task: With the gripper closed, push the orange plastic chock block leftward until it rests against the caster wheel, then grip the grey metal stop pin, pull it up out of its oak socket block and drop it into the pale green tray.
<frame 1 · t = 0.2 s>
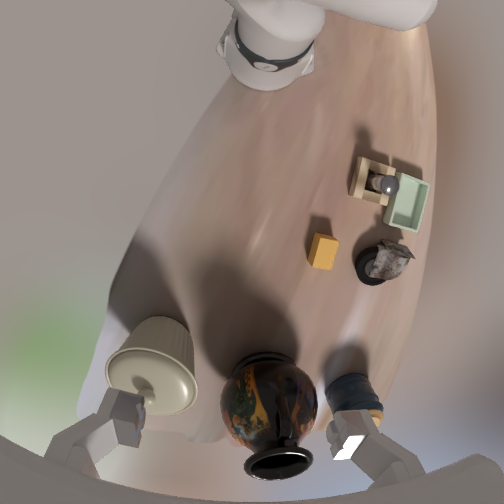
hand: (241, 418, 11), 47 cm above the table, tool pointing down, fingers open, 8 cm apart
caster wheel: (376, 260, 61), on the table
pin stand: (369, 180, 55), on the table
tray: (403, 201, 57), on the table
canister: (165, 336, 64), on the table
stop pin: (379, 183, 51), in the pin stand
canister 2: (346, 388, 73), on the table
amphora vase: (264, 373, 69), on the table
chock: (320, 248, 59), on the table
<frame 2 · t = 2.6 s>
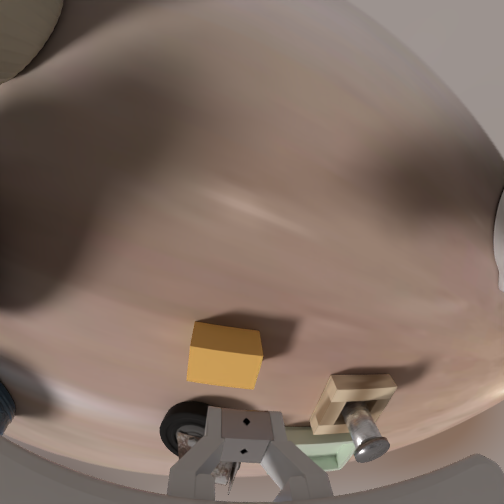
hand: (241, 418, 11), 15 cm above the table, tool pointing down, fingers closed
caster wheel: (202, 427, 31), on the table
pin stand: (349, 398, 31), on the table
tray: (310, 443, 33), on the table
canister: (21, 32, 15), on the table
stop pin: (360, 424, 27), in the pin stand
chock: (224, 342, 27), on the table
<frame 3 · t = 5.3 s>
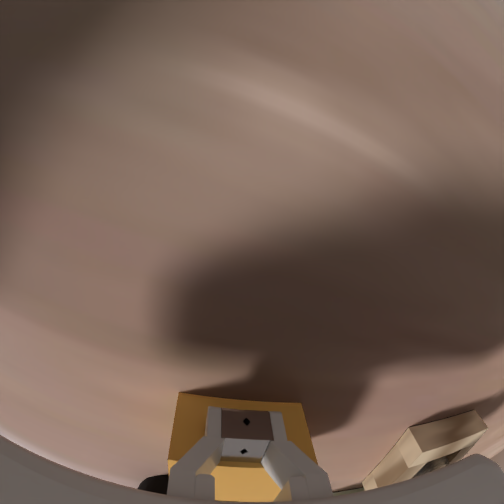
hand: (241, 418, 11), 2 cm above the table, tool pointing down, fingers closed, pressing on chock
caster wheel: (195, 498, 17), on the table
pin stand: (420, 449, 17), on the table
stop pin: (440, 486, 13), in the pin stand
chock: (235, 423, 13), on the table, touching gripper
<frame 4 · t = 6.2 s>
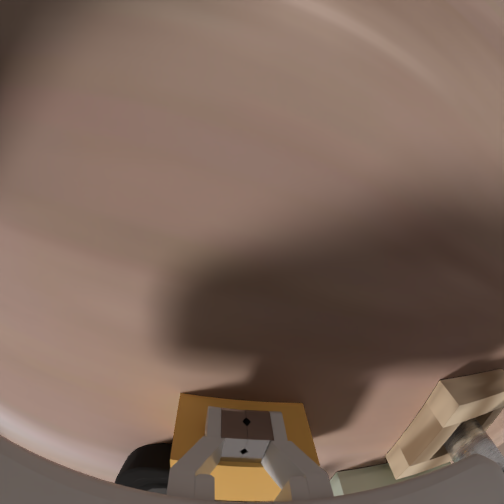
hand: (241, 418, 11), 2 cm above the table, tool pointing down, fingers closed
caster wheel: (192, 478, 16), on the table
pin stand: (448, 414, 15), on the table
tray: (374, 483, 18), on the table
stop pin: (474, 453, 11), in the pin stand
chock: (237, 423, 13), on the table, touching gripper
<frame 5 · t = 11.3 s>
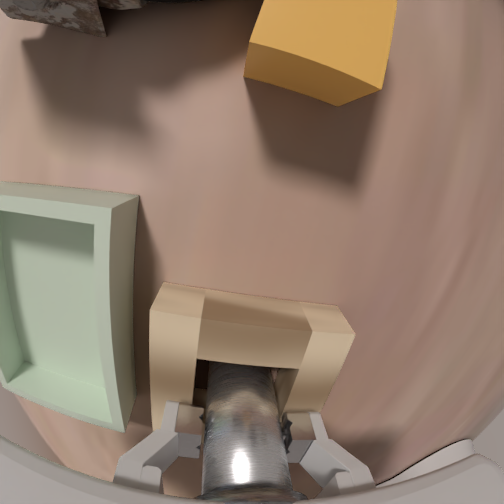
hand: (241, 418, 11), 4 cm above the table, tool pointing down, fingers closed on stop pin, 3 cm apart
pin stand: (238, 364, 14), on the table
tray: (61, 298, 12), on the table
stop pin: (242, 431, 10), in the pin stand, touching gripper
chock: (308, 33, 10), on the table
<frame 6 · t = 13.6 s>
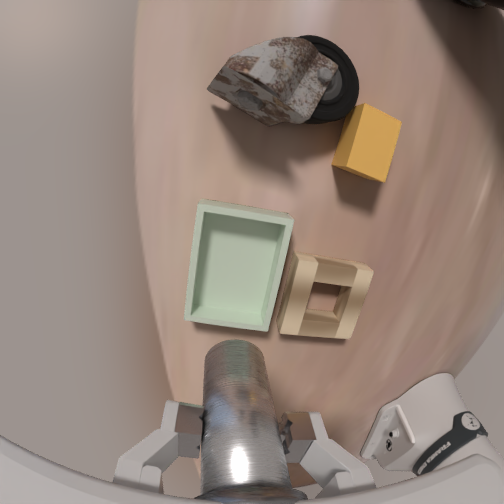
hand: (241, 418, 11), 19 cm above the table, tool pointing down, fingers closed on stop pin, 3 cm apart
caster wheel: (289, 82, 24), on the table
pin stand: (320, 292, 31), on the table
tray: (235, 261, 29), on the table
stop pin: (240, 430, 10), point 20 cm above the table, touching gripper
chock: (357, 143, 26), on the table
when the fingers open (6 cm above the table, at t = 15.8 s): stop pin drops 2 cm, resting on tray.
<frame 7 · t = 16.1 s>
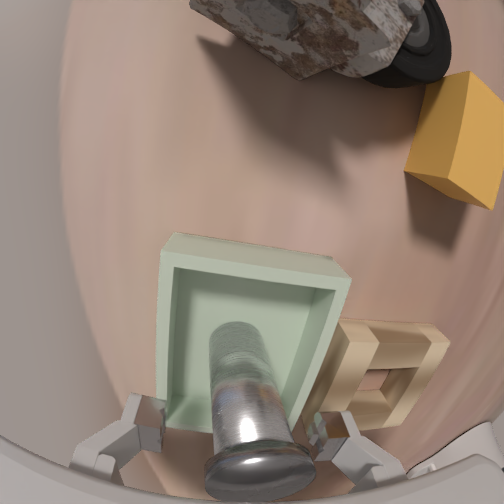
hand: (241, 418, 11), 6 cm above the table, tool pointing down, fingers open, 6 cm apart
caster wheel: (336, 18, 11), on the table
pin stand: (368, 369, 18), on the table
tray: (237, 337, 16), on the table
stop pin: (245, 400, 12), in the tray, point 5 cm above the table
chock: (440, 139, 14), on the table
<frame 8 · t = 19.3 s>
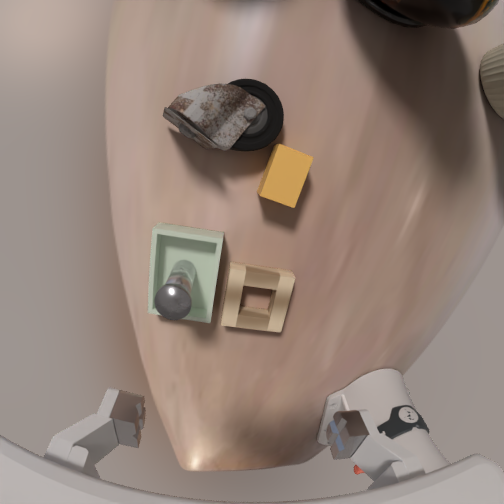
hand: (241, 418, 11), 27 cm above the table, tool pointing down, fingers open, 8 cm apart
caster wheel: (229, 115, 32), on the table
pin stand: (255, 293, 39), on the table
tray: (185, 269, 37), on the table
canister: (496, 87, 31), on the table
stop pin: (179, 285, 32), in the tray, point 5 cm above the table
chock: (281, 174, 34), on the table
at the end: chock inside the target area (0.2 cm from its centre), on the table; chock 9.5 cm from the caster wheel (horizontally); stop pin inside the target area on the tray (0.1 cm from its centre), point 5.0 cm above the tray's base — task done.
